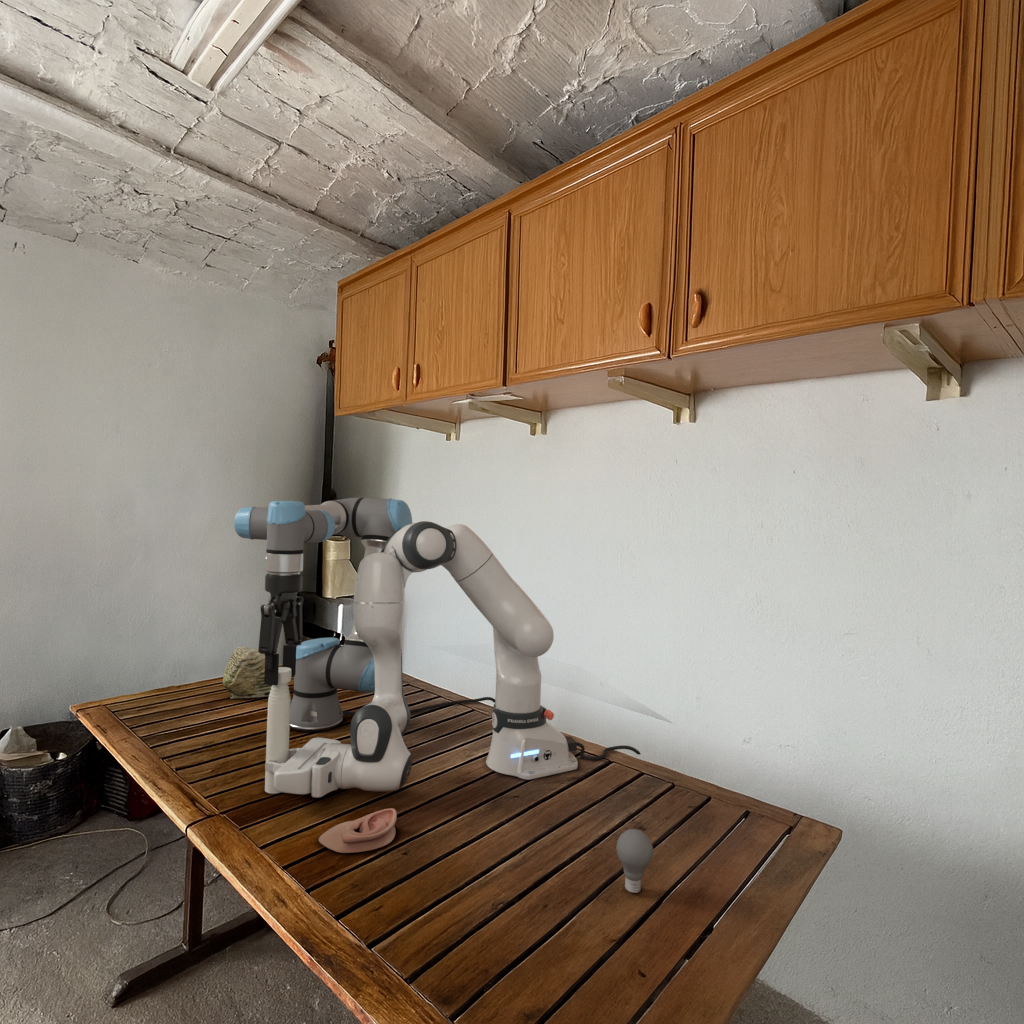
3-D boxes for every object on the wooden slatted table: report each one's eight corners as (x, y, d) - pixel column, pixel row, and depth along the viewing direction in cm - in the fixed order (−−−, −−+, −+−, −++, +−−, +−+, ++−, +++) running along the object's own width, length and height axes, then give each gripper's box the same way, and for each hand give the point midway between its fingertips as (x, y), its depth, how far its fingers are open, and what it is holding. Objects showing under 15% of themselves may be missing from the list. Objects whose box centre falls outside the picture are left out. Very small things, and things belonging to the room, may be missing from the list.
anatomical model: (310, 826, 114) (340, 797, 125) (309, 848, 114) (339, 817, 125) (379, 837, 111) (403, 806, 122) (378, 859, 111) (403, 827, 123)
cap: (295, 681, 136) (295, 670, 136) (275, 685, 133) (276, 673, 133) (284, 676, 139) (284, 665, 139) (265, 680, 136) (265, 669, 136)
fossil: (218, 695, 195) (220, 647, 195) (278, 685, 208) (279, 640, 207) (228, 703, 189) (230, 653, 188) (289, 692, 201) (290, 645, 201)
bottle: (291, 785, 138) (295, 671, 138) (279, 795, 134) (283, 676, 133) (273, 782, 139) (277, 669, 139) (260, 791, 135) (264, 674, 134)
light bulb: (610, 879, 108) (613, 822, 108) (644, 879, 109) (647, 822, 109) (619, 902, 102) (622, 840, 102) (655, 901, 103) (658, 840, 103)
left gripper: (290, 567, 146) (287, 666, 146) (241, 576, 127) (237, 691, 127) (321, 569, 145) (317, 669, 145) (276, 579, 125) (271, 694, 126)
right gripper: (352, 732, 145) (294, 728, 147) (316, 770, 125) (250, 764, 126) (351, 760, 146) (293, 755, 147) (315, 802, 125) (248, 795, 126)
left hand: (280, 679), depth 136 cm, fingers open, 7 cm apart
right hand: (273, 759), depth 136 cm, fingers closed on bottle, 4 cm apart
